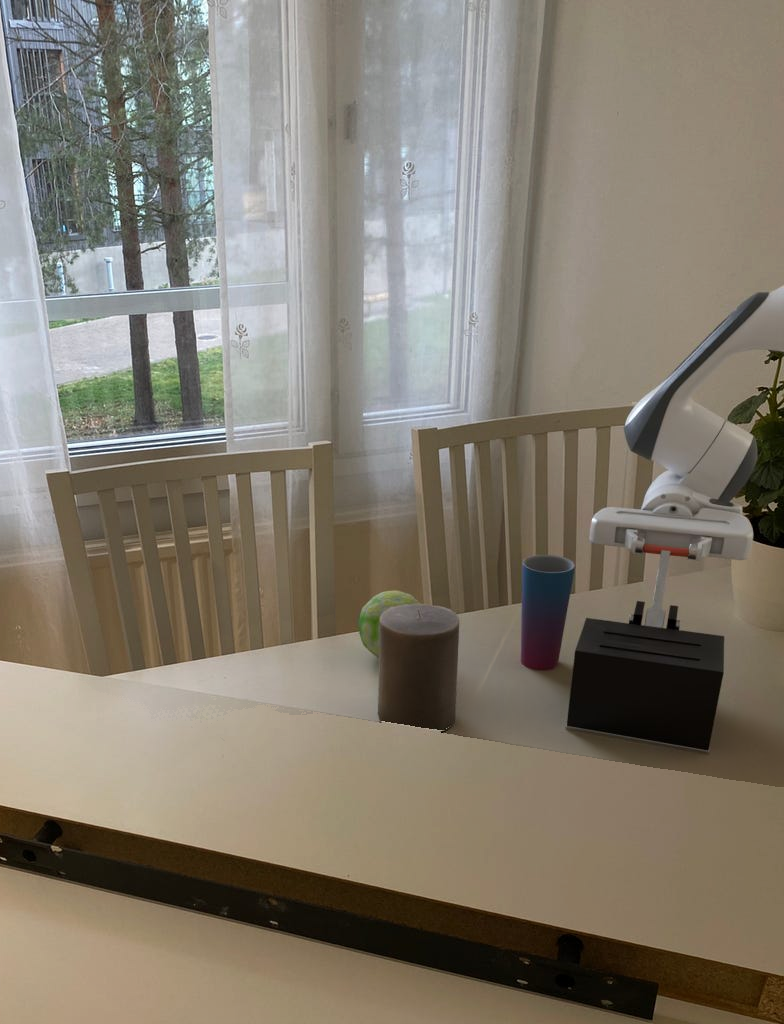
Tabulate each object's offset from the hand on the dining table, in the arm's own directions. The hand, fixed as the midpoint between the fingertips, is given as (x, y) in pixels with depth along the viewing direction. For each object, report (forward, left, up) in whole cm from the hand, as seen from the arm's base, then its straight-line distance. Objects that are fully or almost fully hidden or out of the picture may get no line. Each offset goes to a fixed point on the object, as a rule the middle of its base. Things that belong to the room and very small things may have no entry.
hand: (665, 551), depth 116 cm
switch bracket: (0, +6, -18) cm, 19 cm away
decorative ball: (+34, +7, -18) cm, 39 cm away
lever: (0, +2, -5) cm, 5 cm away
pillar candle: (+26, +22, -18) cm, 38 cm away
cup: (+14, +2, -18) cm, 23 cm away
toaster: (0, +14, -18) cm, 23 cm away
